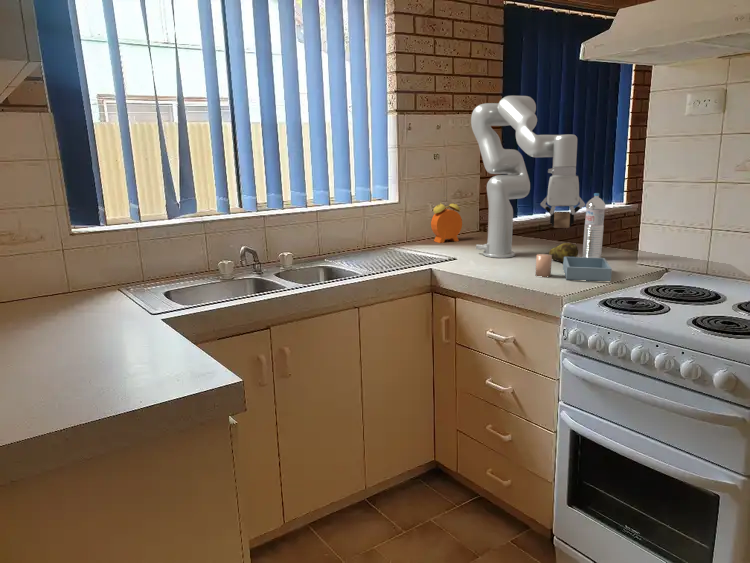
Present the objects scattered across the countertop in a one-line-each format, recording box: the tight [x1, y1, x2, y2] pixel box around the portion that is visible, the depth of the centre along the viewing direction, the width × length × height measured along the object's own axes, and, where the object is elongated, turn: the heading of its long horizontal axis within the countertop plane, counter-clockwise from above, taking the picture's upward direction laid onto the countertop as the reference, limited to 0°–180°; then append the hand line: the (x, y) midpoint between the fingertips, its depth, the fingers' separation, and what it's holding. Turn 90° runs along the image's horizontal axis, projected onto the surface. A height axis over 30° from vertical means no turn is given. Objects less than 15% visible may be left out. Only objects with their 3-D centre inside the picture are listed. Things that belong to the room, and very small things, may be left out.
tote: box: [562, 256, 613, 282], centre depth 195 cm, size 14×18×4 cm
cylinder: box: [534, 253, 553, 278], centre depth 195 cm, size 5×5×7 cm
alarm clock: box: [430, 197, 463, 244], centre depth 262 cm, size 13×6×20 cm, turn 113°
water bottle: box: [581, 192, 606, 258], centre depth 219 cm, size 7×7×25 cm
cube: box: [553, 211, 571, 229], centre depth 198 cm, size 5×5×5 cm
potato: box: [548, 242, 579, 263], centre depth 215 cm, size 8×13×8 cm, turn 2°
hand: (561, 225), depth 198 cm, fingers closed on cube, 5 cm apart
